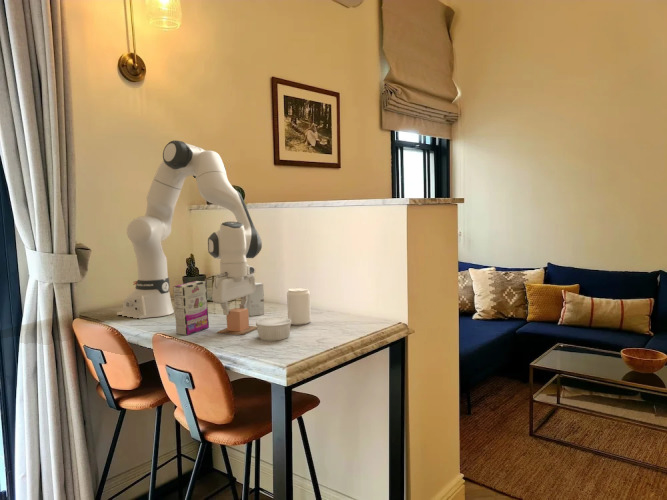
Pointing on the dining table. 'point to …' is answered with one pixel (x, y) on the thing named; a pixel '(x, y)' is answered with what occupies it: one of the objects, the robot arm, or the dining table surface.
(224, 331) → the base plate with peg
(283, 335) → the ramekin
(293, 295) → the beverage can
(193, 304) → the candy bar box
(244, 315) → the salmon orange rectangular block
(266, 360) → the dining table surface
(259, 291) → the skincare box
